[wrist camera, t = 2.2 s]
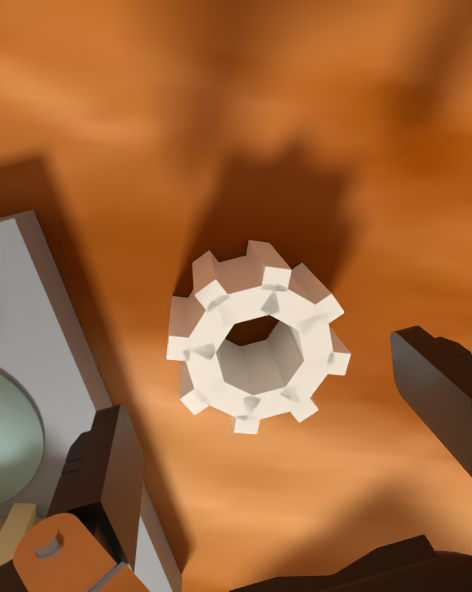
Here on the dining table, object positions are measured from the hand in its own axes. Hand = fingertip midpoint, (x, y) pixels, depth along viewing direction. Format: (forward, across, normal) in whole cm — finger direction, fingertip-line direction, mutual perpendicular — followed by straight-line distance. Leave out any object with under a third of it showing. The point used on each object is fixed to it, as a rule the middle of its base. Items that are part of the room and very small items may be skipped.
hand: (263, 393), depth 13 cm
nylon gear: (+7, 0, 0) cm, 7 cm away
